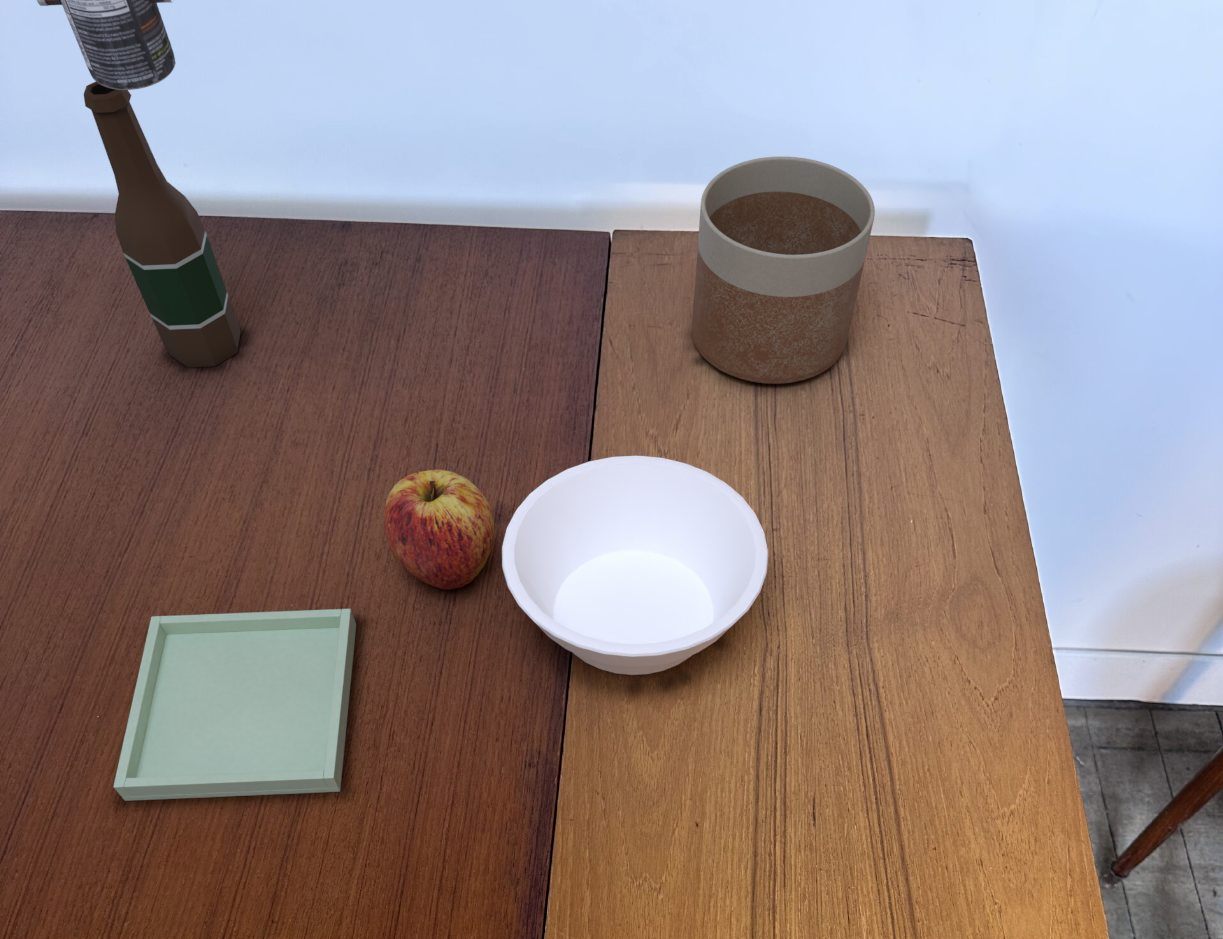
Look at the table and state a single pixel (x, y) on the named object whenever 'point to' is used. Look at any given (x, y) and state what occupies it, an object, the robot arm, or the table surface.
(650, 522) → the bowl
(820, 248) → the planter
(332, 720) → the tray
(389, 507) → the apple
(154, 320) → the beer bottle
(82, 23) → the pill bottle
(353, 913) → the table surface
